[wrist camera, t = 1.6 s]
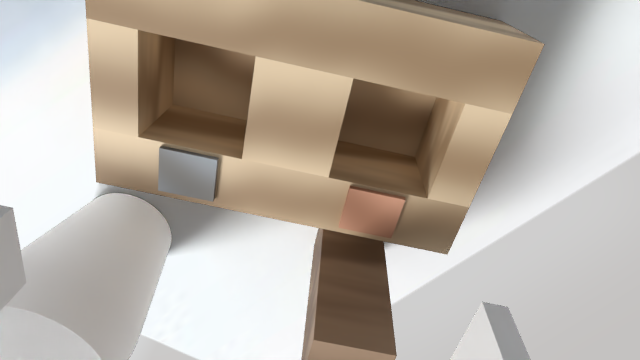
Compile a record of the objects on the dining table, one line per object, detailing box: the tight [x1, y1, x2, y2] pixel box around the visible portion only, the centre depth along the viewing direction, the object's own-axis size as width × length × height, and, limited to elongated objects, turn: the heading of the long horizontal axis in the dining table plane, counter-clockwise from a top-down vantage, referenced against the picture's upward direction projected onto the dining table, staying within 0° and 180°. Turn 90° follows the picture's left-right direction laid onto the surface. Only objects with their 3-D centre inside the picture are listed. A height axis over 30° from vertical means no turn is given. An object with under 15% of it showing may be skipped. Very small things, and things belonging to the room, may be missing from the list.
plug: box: [302, 228, 397, 360], centre depth 26 cm, size 4×4×12 cm
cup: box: [0, 193, 172, 360], centre depth 27 cm, size 9×9×12 cm
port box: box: [85, 0, 544, 254], centre depth 24 cm, size 12×20×6 cm, turn 78°
